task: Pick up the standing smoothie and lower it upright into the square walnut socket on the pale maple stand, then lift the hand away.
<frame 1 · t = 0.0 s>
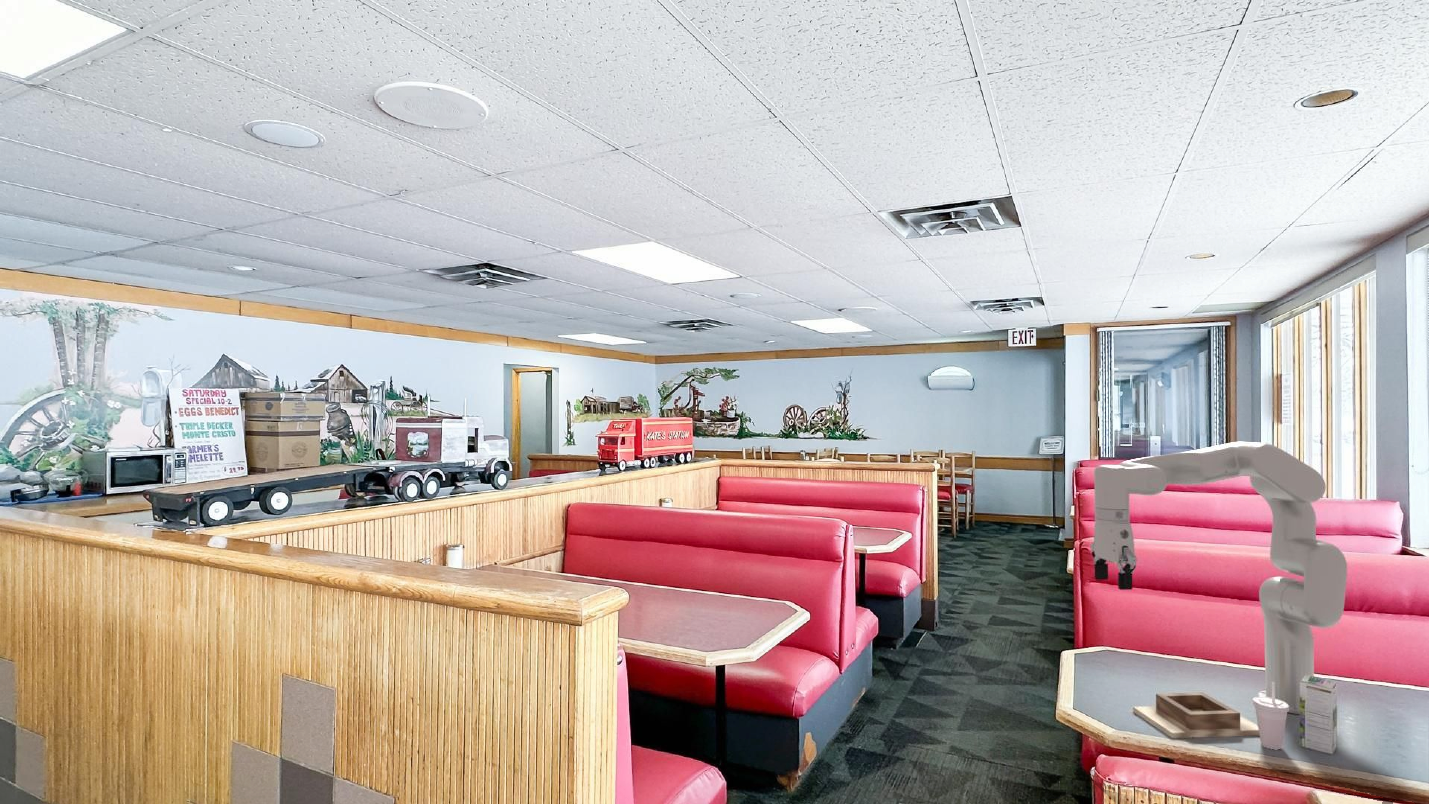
hand: (1113, 584, 176), 31 cm above the table, tool pointing down, fingers open, 9 cm apart
syrup box: (1318, 747, 156), on the table
socket stand: (1196, 722, 168), on the table
smoothie: (1271, 746, 157), on the table
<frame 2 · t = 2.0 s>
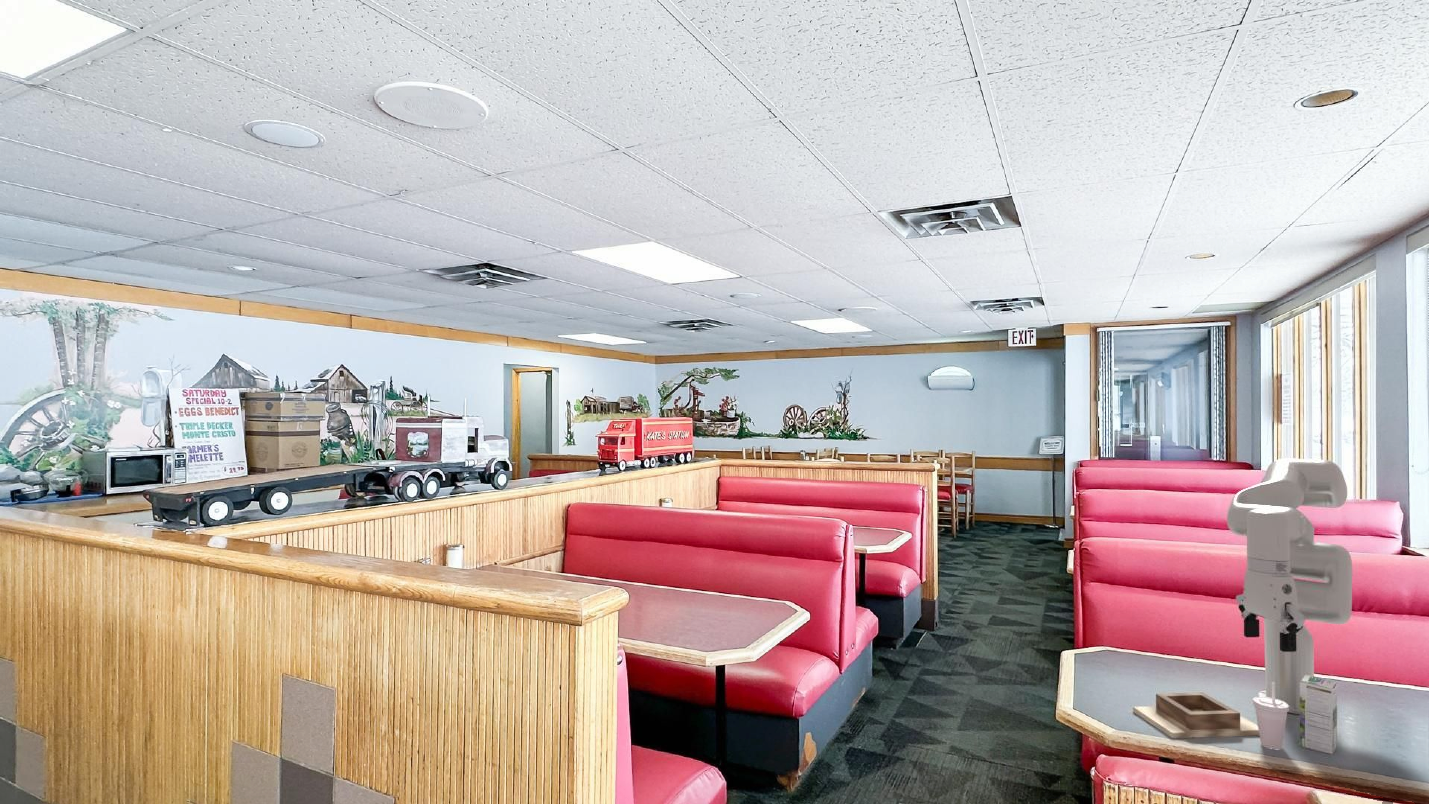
hand: (1269, 643, 157), 23 cm above the table, tool pointing down, fingers open, 9 cm apart
nothing on the table moved.
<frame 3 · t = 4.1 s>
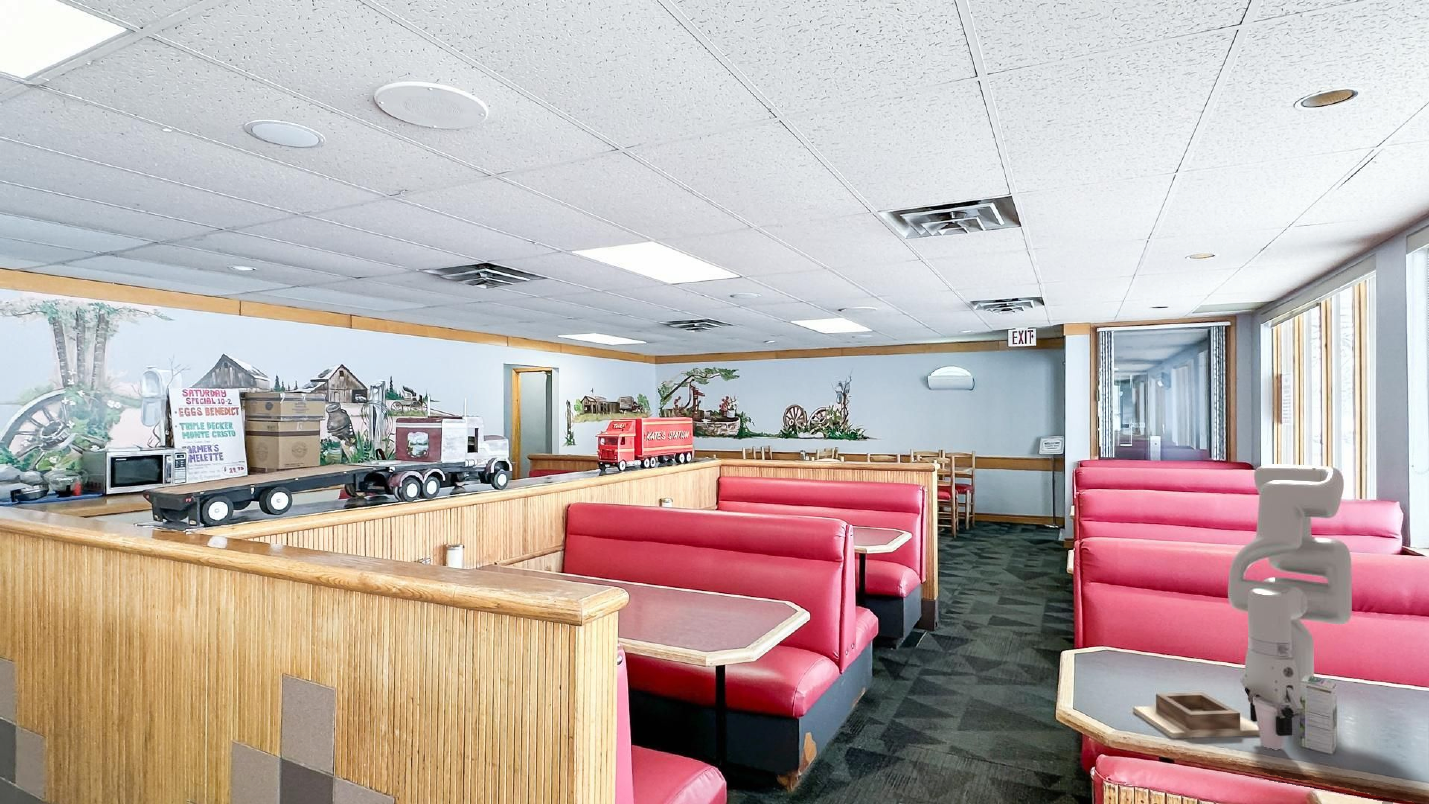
hand: (1270, 727, 157), 4 cm above the table, tool pointing down, fingers closed on smoothie, 6 cm apart
smoothie: (1271, 746, 157), on the table, touching gripper
everything else where it was.
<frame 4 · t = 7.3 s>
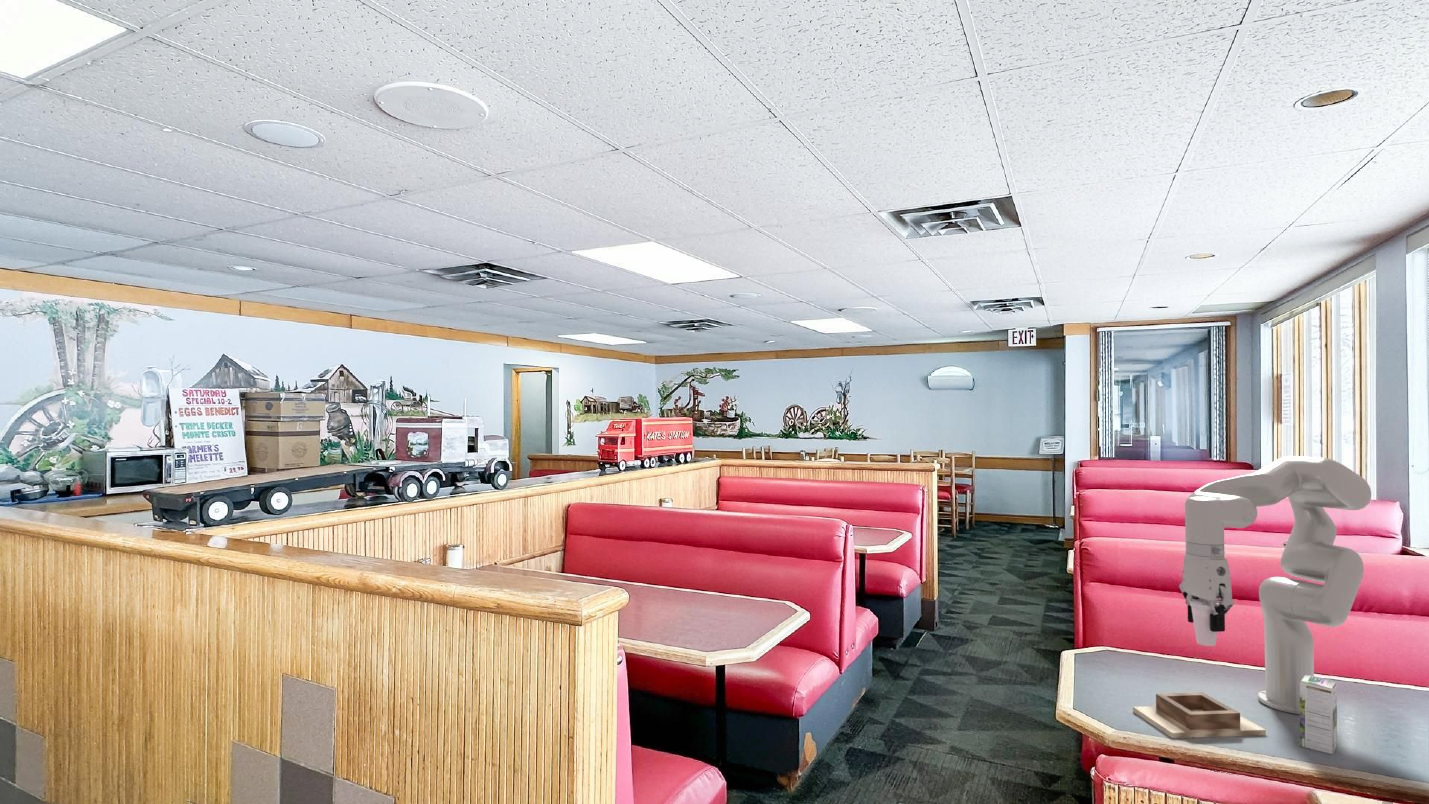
hand: (1205, 625, 167), 24 cm above the table, tool pointing down, fingers closed on smoothie, 6 cm apart
smoothie: (1206, 644, 167), point 19 cm above the table, touching gripper
everything else where it was.
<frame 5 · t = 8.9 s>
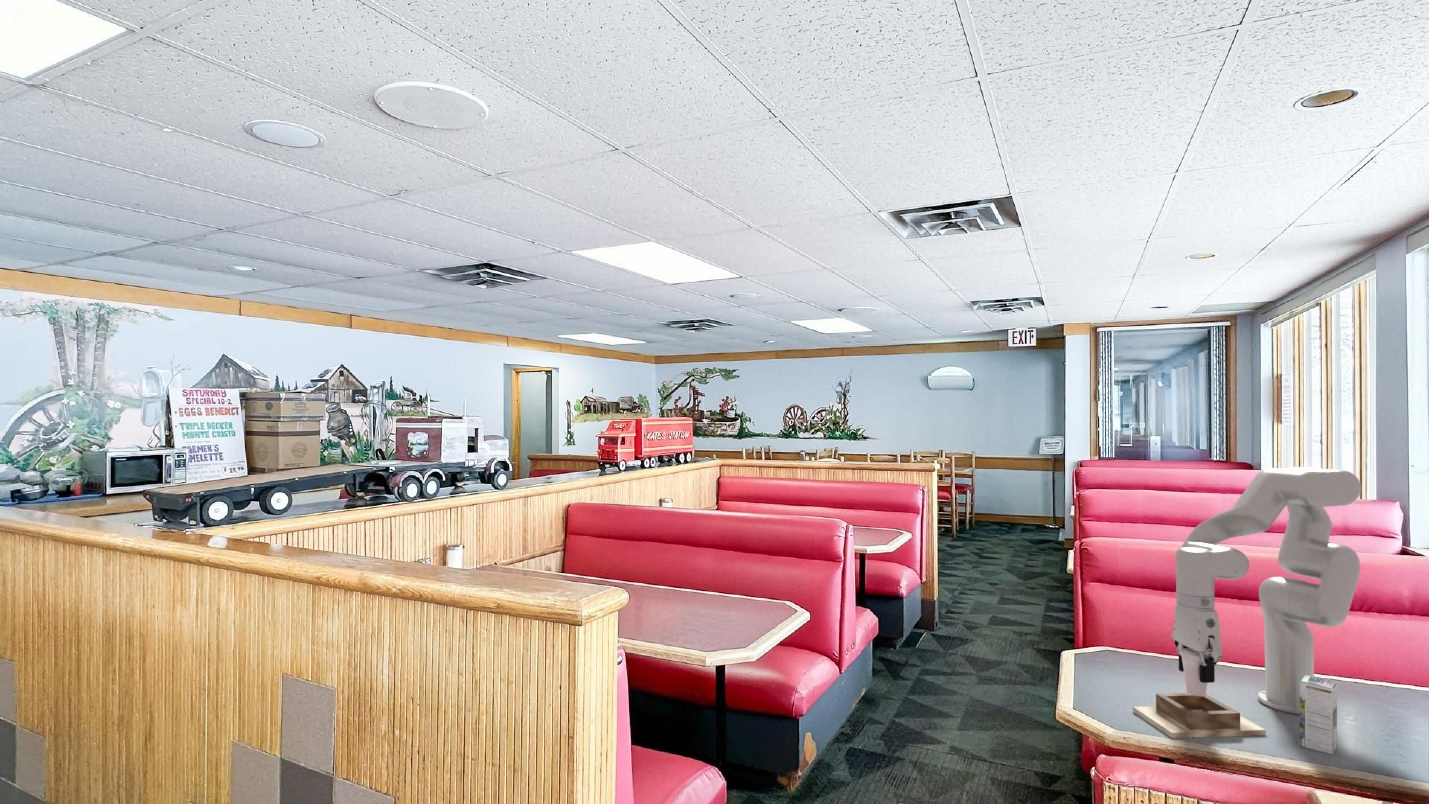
hand: (1196, 675, 169), 11 cm above the table, tool pointing down, fingers closed on smoothie, 6 cm apart
smoothie: (1196, 694, 169), point 7 cm above the table, touching gripper
everything else where it was.
when the fingers open (7 cm above the table, at t = 10.3 s): smoothie drops 1 cm, resting on socket stand.
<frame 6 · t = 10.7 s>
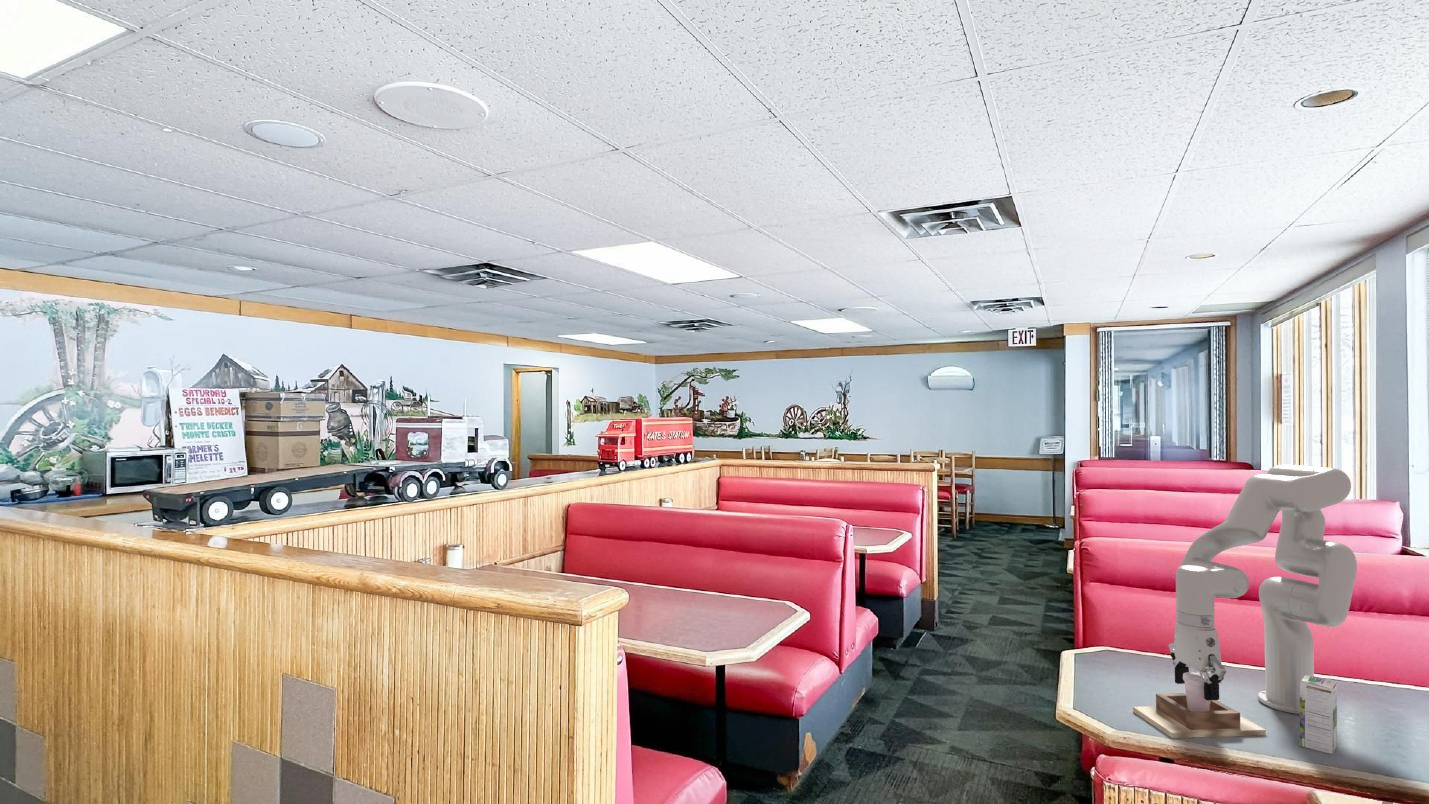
hand: (1196, 691, 169), 7 cm above the table, tool pointing down, fingers open, 9 cm apart
smoothie: (1197, 718, 168), point 1 cm above the table, touching socket stand
everything else where it was.
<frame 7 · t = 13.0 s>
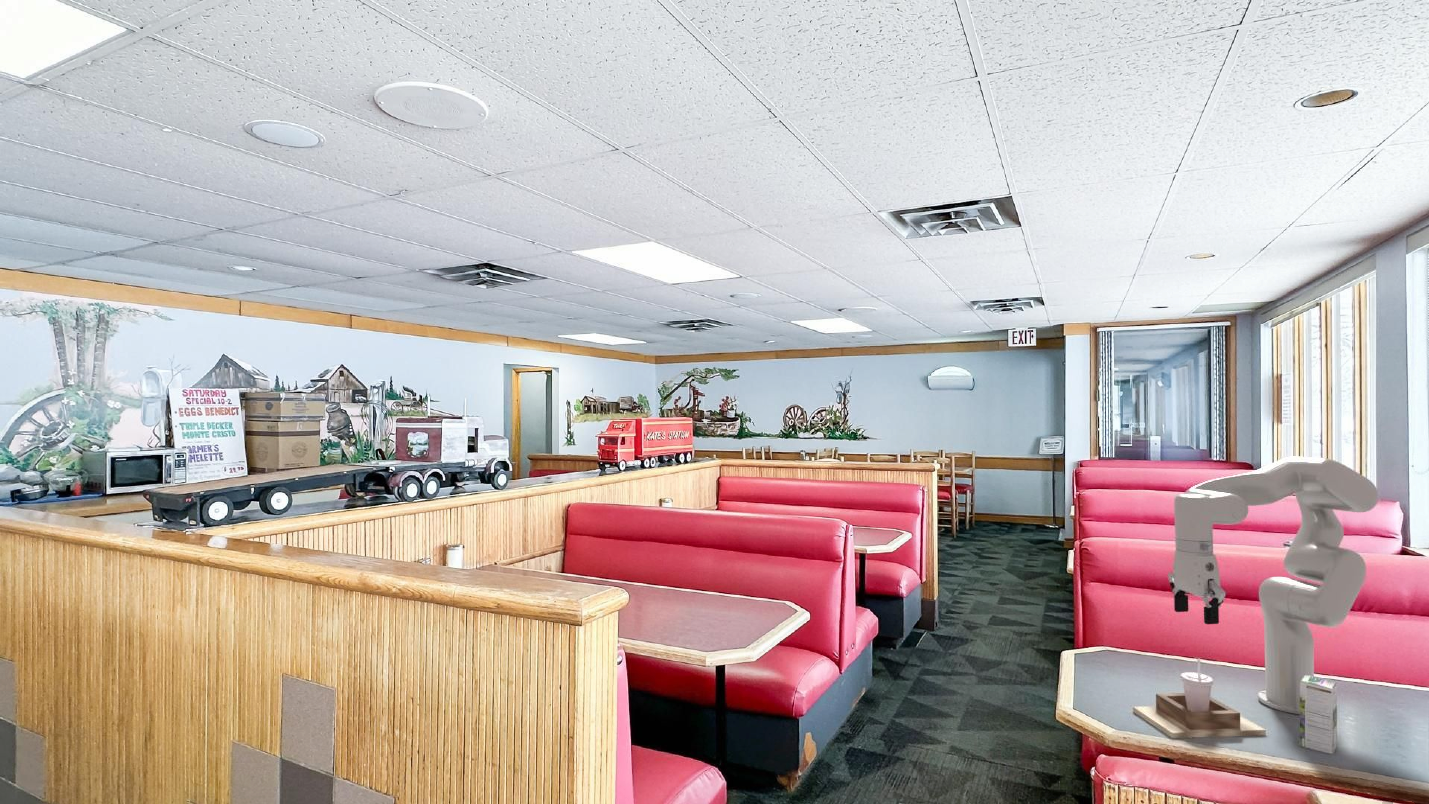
hand: (1196, 617, 170), 24 cm above the table, tool pointing down, fingers open, 9 cm apart
nothing on the table moved.
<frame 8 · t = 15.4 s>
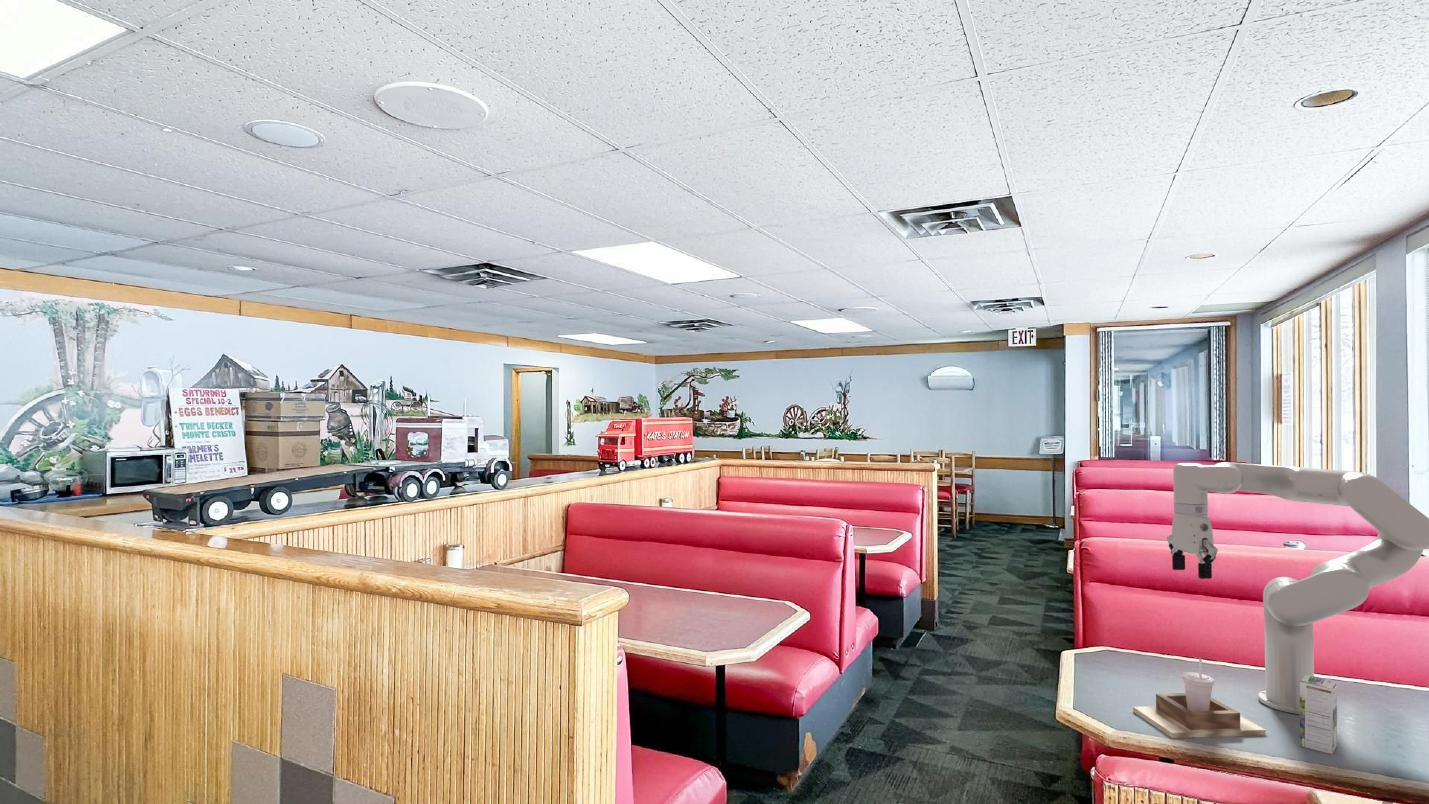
hand: (1191, 573, 189), 30 cm above the table, tool pointing down, fingers open, 9 cm apart
nothing on the table moved.
at the end: smoothie 0.2 cm off-centre on the socket stand, point 1.0 cm above the socket stand's base; smoothie tilted 1°; the gripper is holding nothing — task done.
